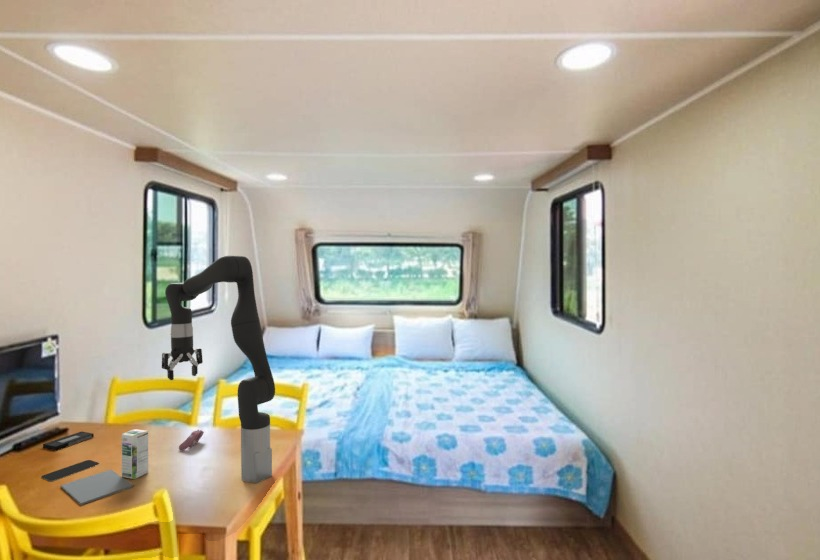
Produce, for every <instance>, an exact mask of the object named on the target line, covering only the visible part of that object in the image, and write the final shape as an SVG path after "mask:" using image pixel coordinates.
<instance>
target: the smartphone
mask: <svg viewBox="0 0 820 560" xmlns="http://www.w3.org/2000/svg"><path fill="white" fill-rule="evenodd" d="M98 464H99V465H100V462H97V461H94V460H91V459H86V460H84V461H81V462H80V461H79V462H77V463H75V464H72V465H69V466H67V467H66V466H65V467H63V468H60V469H58V470H54V471H51V472H48V473H45V474H43V475H41V477H40V478H41V479H43V478H44V479H43V480H45V479H46V480H45V481H48V480H49V481H48V482H55V481H58V480H60V478H61V479H64V478H67V477H69V476H72V475H75V474H77V473H80V472H83V471H86V470H88V469H91V468H93V466H94V467H96V466H95V465H97V466H99V465H98ZM90 467H91V468H90ZM85 469H86V470H85ZM82 470H83V471H82ZM79 471H80V472H79ZM74 473H75V474H74ZM71 474H72V475H71ZM68 475H69V476H68ZM66 476H67V477H66ZM63 477H64V478H63ZM57 479H58V480H57ZM54 480H55V481H54Z"/></svg>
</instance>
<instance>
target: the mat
mask: <svg viewBox="0 0 820 560" xmlns="http://www.w3.org/2000/svg"><path fill="white" fill-rule="evenodd" d="M133 487H134V484H132V483H131V482H130V481H128V480H127V479H126V478H125V477H122V475H119V474H118V473H117V472H115V471H114V470H112V469H107V470H104V471H102V472H98V473H95V474H92V475H88V476H85V477H82V478H79V479H76V480H73V481H70V482H67V483H63V484H60V488H61V489H62V490H64V491H65V493H67V494H68V495H69V496H71V498H72V499H73V500H74V501H75V502H77V503H78V504H79V506H83V505H85V504H89V503H92V502H94V501H97V500H99V499H103V498H105V497H108V496H110V495H114V494H117V493H120V492H123V491H126V490H129V489H131V488H133Z"/></svg>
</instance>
